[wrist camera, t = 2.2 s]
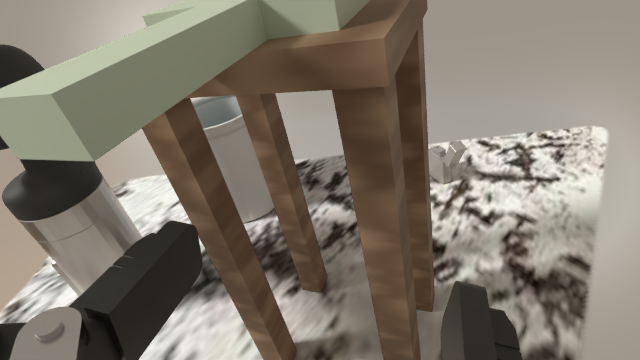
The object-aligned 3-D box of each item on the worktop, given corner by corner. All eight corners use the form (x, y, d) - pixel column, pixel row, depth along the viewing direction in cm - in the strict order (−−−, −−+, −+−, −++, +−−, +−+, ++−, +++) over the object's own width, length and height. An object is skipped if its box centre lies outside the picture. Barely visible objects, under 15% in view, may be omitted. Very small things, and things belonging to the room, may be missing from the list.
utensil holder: (297, 171, 69) (272, 81, 59) (276, 226, 57) (240, 125, 47) (226, 176, 73) (191, 92, 63) (192, 229, 61) (142, 136, 51)
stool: (263, 369, 38) (101, 68, 21) (308, 272, 48) (224, 10, 30) (421, 413, 32) (384, 37, 14) (437, 292, 42) (426, -24, 24)
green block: (-46, 156, 13) (-92, 105, 12) (237, 12, 28) (228, -17, 27) (201, 164, 9) (165, 85, 8) (381, -11, 24) (378, -47, 22)
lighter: (427, 172, 61) (425, 129, 56) (436, 168, 61) (434, 125, 56) (455, 194, 55) (456, 147, 50) (465, 189, 55) (466, 143, 51)
